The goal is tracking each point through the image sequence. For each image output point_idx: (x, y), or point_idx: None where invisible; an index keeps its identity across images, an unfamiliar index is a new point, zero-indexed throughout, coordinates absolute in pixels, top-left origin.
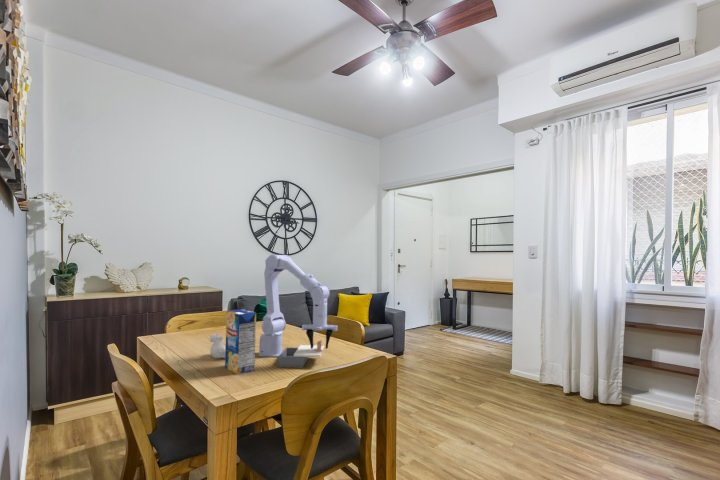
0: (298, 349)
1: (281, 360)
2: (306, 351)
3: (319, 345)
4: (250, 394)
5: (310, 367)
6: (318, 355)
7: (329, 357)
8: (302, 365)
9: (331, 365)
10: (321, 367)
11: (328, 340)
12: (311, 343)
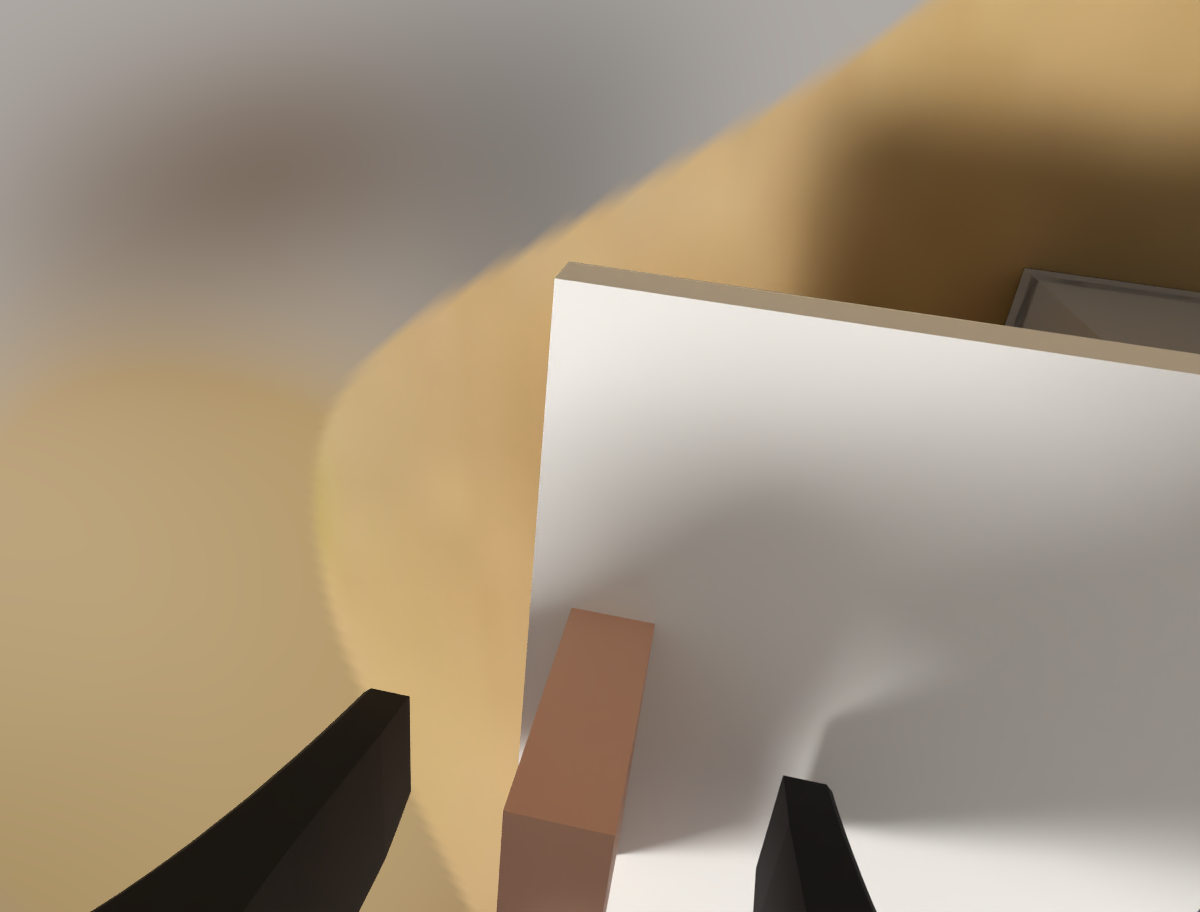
0: (1182, 867)
1: None
2: (973, 672)
3: (549, 741)
4: None
5: (835, 267)
6: (608, 278)
7: (468, 764)
8: (1051, 283)
9: (389, 359)
10: (585, 247)
11: (177, 865)
12: (831, 902)
